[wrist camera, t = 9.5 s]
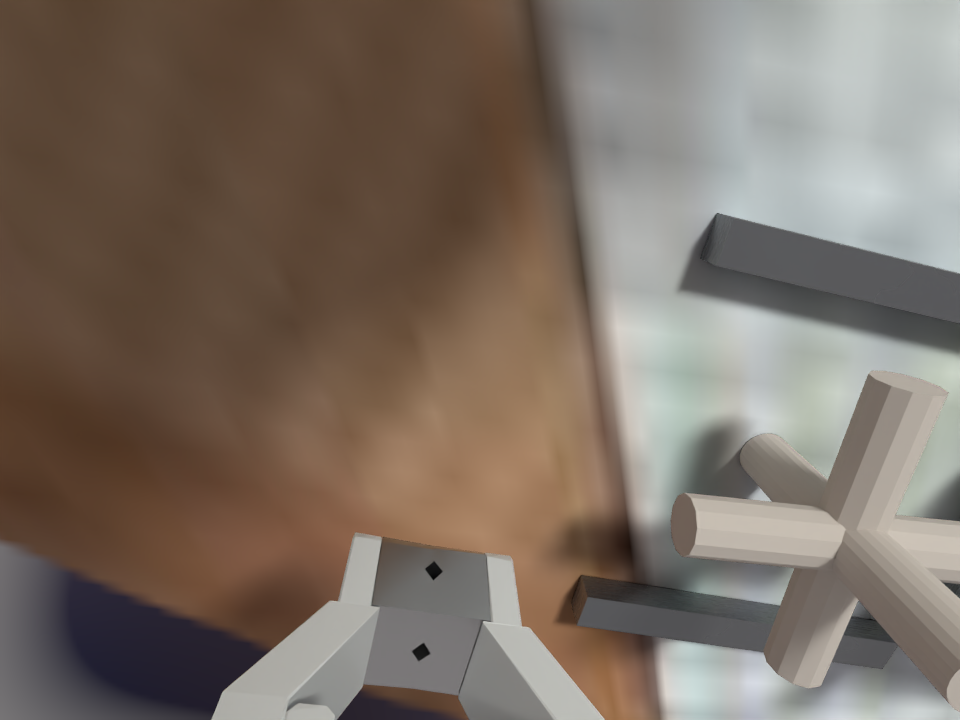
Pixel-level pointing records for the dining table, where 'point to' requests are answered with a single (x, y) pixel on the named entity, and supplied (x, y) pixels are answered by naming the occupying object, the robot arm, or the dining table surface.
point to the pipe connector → (844, 538)
